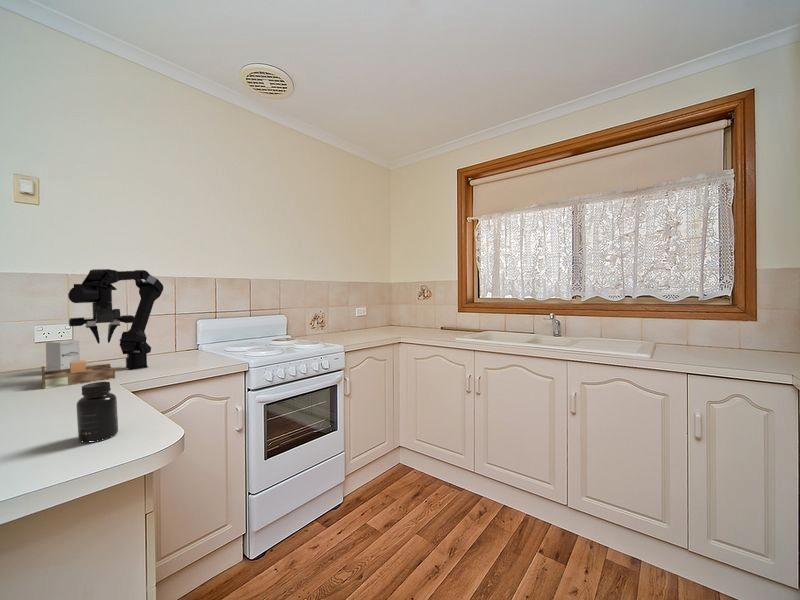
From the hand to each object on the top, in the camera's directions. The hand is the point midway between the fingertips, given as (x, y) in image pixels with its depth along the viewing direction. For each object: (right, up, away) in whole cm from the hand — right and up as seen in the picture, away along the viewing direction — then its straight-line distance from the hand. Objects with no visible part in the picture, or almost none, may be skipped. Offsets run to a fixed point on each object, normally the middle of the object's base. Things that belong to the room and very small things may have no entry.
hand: (103, 343), depth 133 cm
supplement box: (-24, -13, +9) cm, 29 cm away
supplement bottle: (+45, -15, -55) cm, 73 cm away
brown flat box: (-5, -13, -5) cm, 15 cm away
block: (-5, -10, -5) cm, 12 cm away
